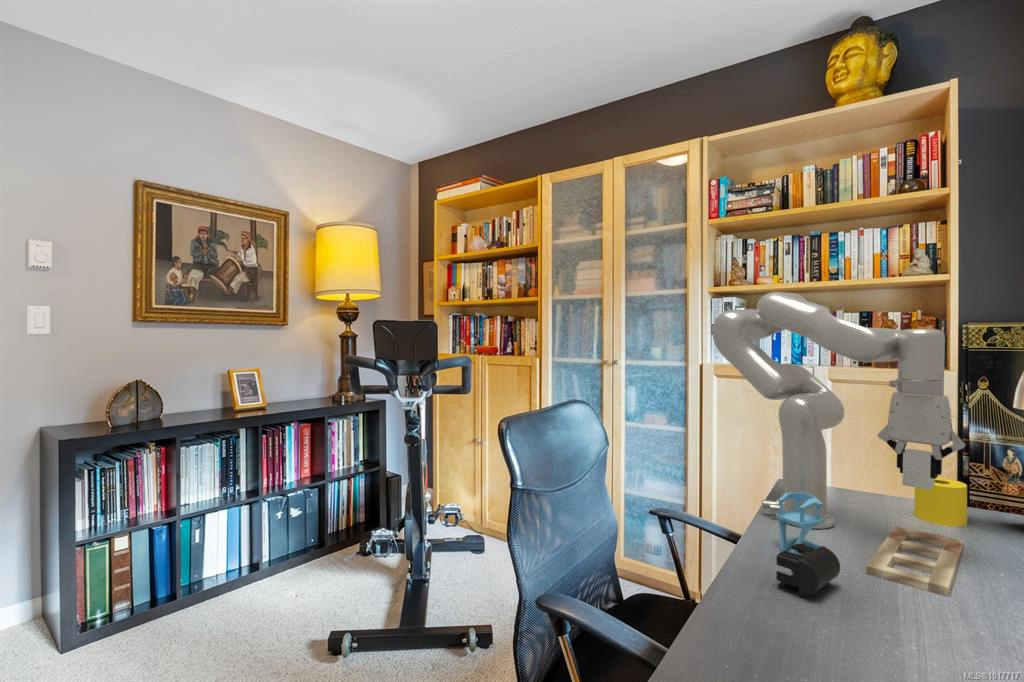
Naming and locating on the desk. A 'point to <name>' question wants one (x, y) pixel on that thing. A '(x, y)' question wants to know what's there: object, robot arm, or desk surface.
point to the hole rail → (918, 559)
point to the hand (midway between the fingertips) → (918, 473)
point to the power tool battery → (807, 569)
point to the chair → (798, 519)
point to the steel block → (917, 469)
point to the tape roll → (942, 503)
